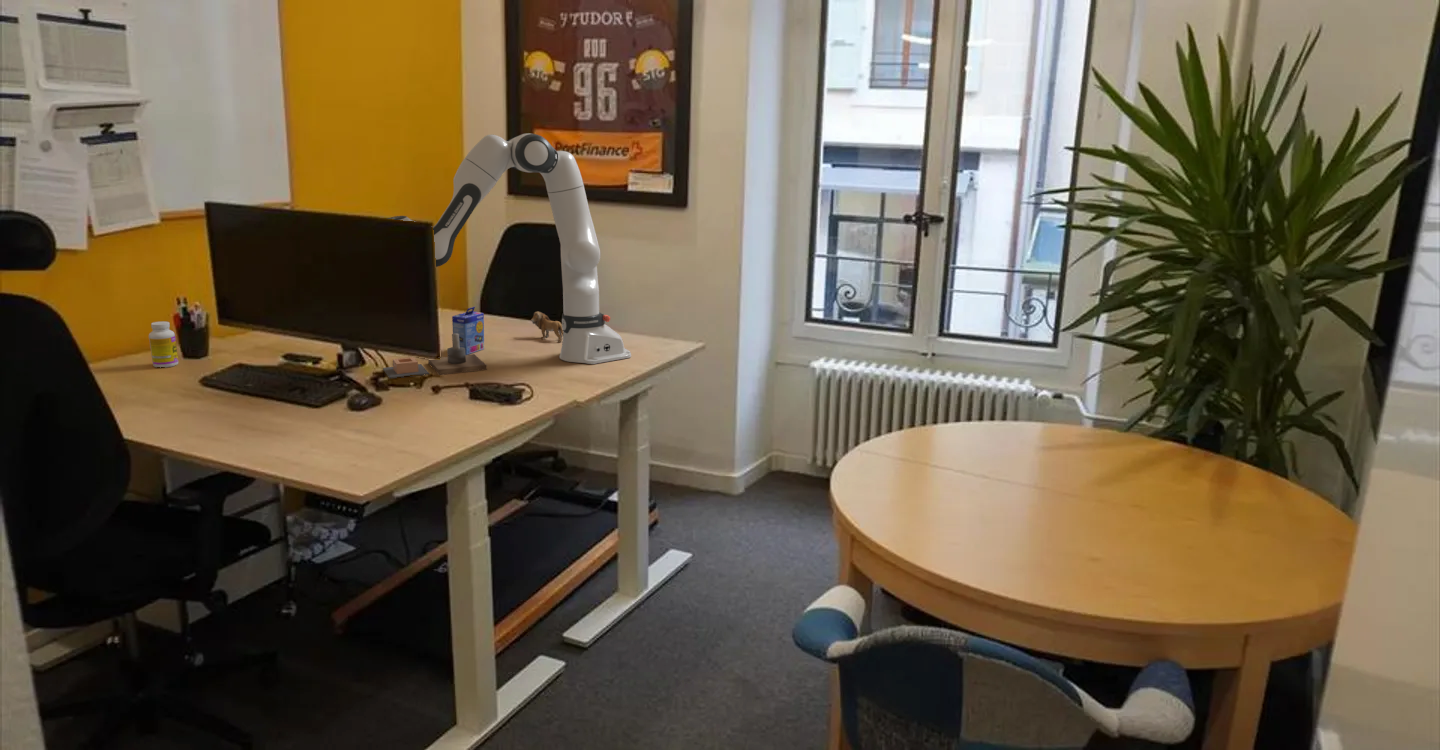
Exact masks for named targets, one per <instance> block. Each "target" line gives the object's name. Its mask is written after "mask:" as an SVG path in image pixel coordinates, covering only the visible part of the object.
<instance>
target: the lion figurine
mask: <svg viewBox="0 0 1440 750" xmlns="http://www.w3.org/2000/svg"><path fill="white" fill-rule="evenodd" d="M530 321H531V322H532V324H533V325H535V326H536V327H537V328H538V330H540V331H541V335H542V336H541V337H540V339H541V340H544V339H546V338H549V337H550V332H554V335H555V336H556V337H557V339H558V340H557V343H561V342H563V329H562V322H560V321H558V320H555V321H554V320H551V319H550V318H549V316H548V315H546V314H545V313H543V312H541V311H535V312H533V316H532V318H531V319H530Z"/></svg>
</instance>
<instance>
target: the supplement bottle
mask: <svg viewBox="0 0 1440 750" xmlns="http://www.w3.org/2000/svg"><path fill="white" fill-rule="evenodd" d="M150 325H151V329H152V331H151V332H149V334H148V340H149V348H150V352H151V353H150V354H151V360H152V366H153V367H154V368H157V367H160V368H161V367H165V368H173V367H175V365H176V366H177V365H179V357H178V347H177V343H176V342H177V341H176V334H175V332H174V331H173V330H171V329H170V327H171V326H170V322H169V321H163V320H162V321H153V322H151V324H150ZM160 368H159V369H160ZM161 369H162V368H161Z"/></svg>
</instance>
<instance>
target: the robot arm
mask: <svg viewBox="0 0 1440 750" xmlns="http://www.w3.org/2000/svg"><path fill="white" fill-rule="evenodd" d="M510 168H512V169H515V170H516V171H520V172H523V173H524V172H525V173H539V174H540V175H541V176H542V178H543V180H544V182H545V187H546V188H545V189H546V191H547V195H548V200H549V205H550V208H551V212H552V217H553V221H554V224H555V228H556V232H557V236H558V238H559V239H558V240H559V243H560V262H561V263H560V264H561V281H562V282H561V283H562V295H563V296H562V299H563V301H562V302H563V305H562V307H563V309H562V310H563V313H562V315H561V324H562V330H563V335H562V341H561V342H562V343H561V349H560V353H559V360H562V361H564V362H568V363H569V362H570V363H582V364H588V365H594V364H595V365H596V364H600V363H601V364H602V363H607V362H612V361H617V360H624V359H629V358H631V357H632V353H631V351H630V350H629V349H627V348H625V346H624V345H625V344H624V341H623V337H622V336H621V335H620V334H619V333H618V332H617V331H615V330H614V329H613V328H611V327H610V326H609V325H607V324H606V323H608V322H610V321H611V316H609V315H608V314H604V313H602V312H600V285H599V277H598V275H599V274H598V265H599V263H600V261H601V254H602V253H601V249H600V245H599V242H598V241H599V240H598V238H597V233H596V229H595V225H594V222H593V218H592V215H591V211H590V207H589V203H588V199H587V198H588V197H587V194H586V190H585V185H584V180H583V177H582V173H581V171H580V168H579V166H578V163H577V160H576V158H575V156H574V155H573V154H572V153H571V152H569V151H565V150H556V149H555V147H553V145H551V143H550V142H549V141H548V140H547V139H546V138H545V137H544V136H542V135H540V134H537V133H536V134H535V133H529V132H528V133H522V134H519V135H516V136H513V137H511V138H509V139H507V140H505V139H504V137H501V136H499V135H496V134H487V135H485V136H484V137H483V138H481V139H480V140H479V141H478V142H477V143H476V144H475V145H474V146H473V147H472V148H471V150H470V151H469V152H468V153H467V155H465V157H464V158H463V160H462V161H461V163H460V164H459V166H458V168H457V170H456V173H455V174H454V177H453V179H452V180H453V195H452V198H451V200H450V203H449V204H448V205H447V207H446V209H445V211H443V213H442V215H441V216H440V218H439V219H438V220H437V223H436V224H435V225H433V226H432V227H433V230H434V242H435V258H436V267H435V268H439V267H441V266H443V265H445V264H447V262H449V260H450V259H451V257H452V254H453V252H454V251H453V250H454V245H455V241H456V238H457V236H458V235H459V233H460V231H462V228H464V225H465V224H466V223H467V222H468V220H469V218H470V216H472V213H473V212H474V210H475V209H476V207H478V205H480V203H481V202H482V201H483V199H485V198H486V196H488V194H489V193H490V192H491V191H492V189H493V188H494V187H495V185H496V184H497V182H499V180H500V178H501V177H502V176H503V174H504V173H505V172H506V171H508V169H510ZM387 219H394V220H403V221H414V222H416V221H415V220H413V219H411V218H409V217H408V216H407V215H395V216H392V217H391V216H390V217H388V218H387Z"/></svg>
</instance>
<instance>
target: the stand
mask: <svg viewBox="0 0 1440 750" xmlns="http://www.w3.org/2000/svg"><path fill="white" fill-rule="evenodd" d="M451 340H452V341H451V342H452V347H448V348H447V350H446V353H447V356H443V357H442V356H441V357H440V358H441V359H440V360H428V359H427V361H428V365H429V364H430V365H431V366H432V367H431V366H430V367H431V368H432V369H433V370H434V371H435V372H436V374H437V375H439V376H441V375H449V374H450V375H451V374H456V373H457V374H459V373H466V372H467V373H468V372H477V371H485V370H487V363H485V362H484V361H482V360H481V358H480V357H478V356H477V355H476V354H475V353H471V354H468V355H466V354H465V348H464V347H460V345H459V334H457V333H455V334H453V333H452V334H451Z"/></svg>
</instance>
